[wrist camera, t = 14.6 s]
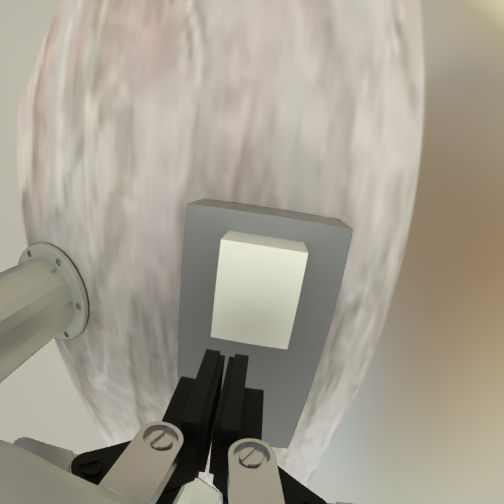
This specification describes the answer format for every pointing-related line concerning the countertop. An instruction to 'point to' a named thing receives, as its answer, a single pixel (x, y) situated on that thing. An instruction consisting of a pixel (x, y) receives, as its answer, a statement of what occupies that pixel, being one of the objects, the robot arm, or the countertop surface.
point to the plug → (257, 289)
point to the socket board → (307, 314)
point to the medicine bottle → (198, 493)
